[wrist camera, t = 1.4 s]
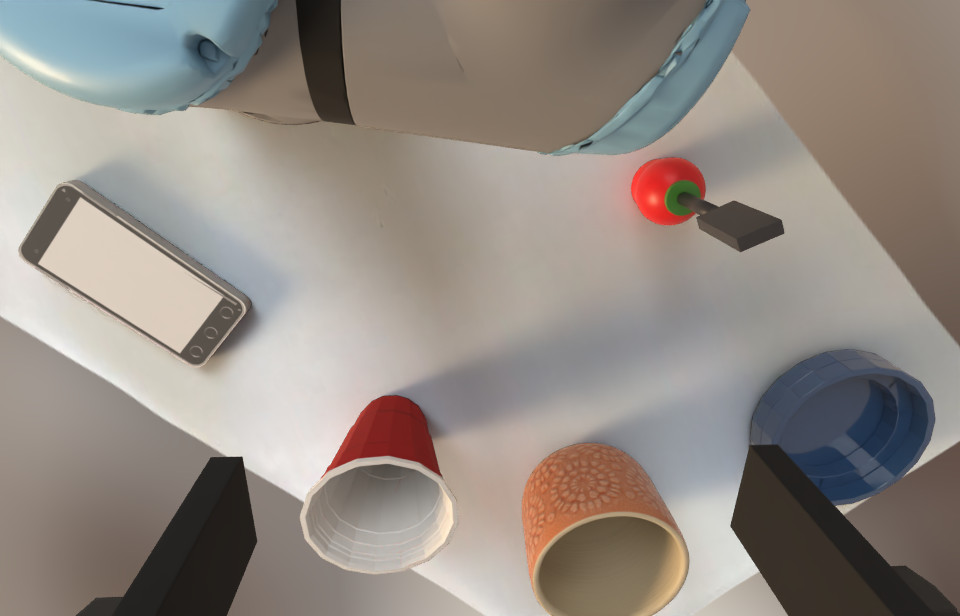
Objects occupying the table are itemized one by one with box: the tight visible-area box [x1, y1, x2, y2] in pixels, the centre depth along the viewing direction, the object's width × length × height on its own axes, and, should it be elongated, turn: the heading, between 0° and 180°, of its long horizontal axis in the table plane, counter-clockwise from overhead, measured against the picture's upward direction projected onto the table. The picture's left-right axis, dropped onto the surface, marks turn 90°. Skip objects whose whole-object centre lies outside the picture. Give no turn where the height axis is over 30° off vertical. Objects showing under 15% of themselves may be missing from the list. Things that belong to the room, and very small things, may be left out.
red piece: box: [631, 157, 784, 252], centre depth 35 cm, size 5×5×15 cm
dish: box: [750, 349, 935, 506], centre depth 49 cm, size 14×14×4 cm
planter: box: [522, 443, 689, 616], centre depth 47 cm, size 12×12×11 cm
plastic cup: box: [300, 395, 458, 574], centre depth 43 cm, size 11×11×12 cm
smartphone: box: [18, 180, 250, 368], centre depth 42 cm, size 7×1×15 cm
